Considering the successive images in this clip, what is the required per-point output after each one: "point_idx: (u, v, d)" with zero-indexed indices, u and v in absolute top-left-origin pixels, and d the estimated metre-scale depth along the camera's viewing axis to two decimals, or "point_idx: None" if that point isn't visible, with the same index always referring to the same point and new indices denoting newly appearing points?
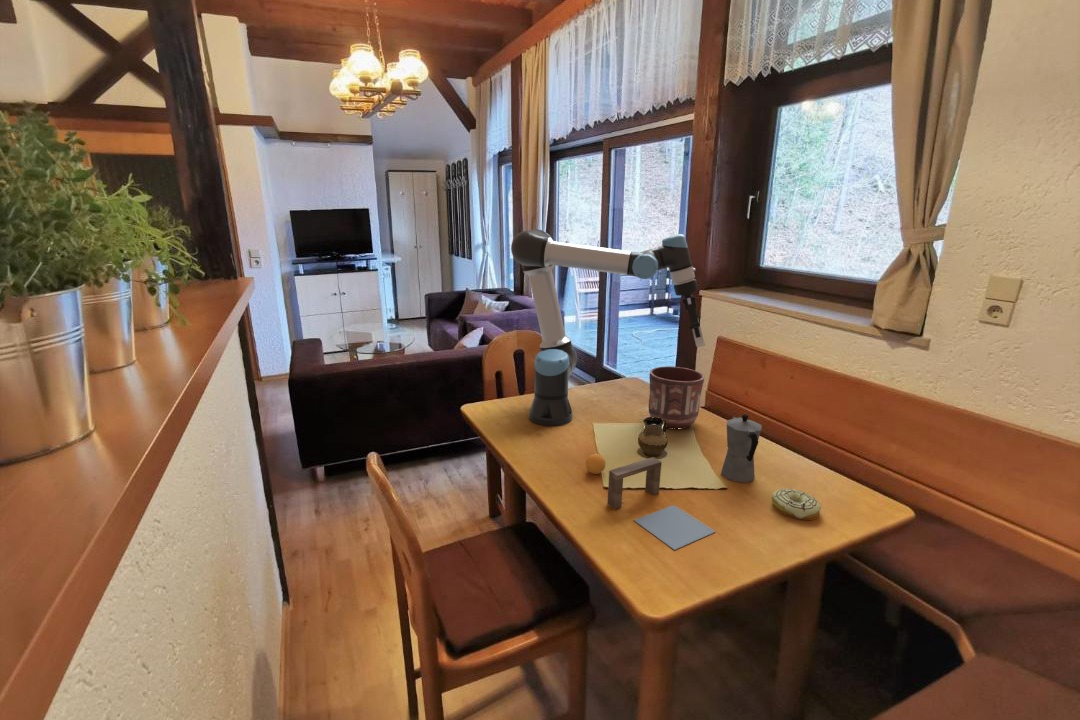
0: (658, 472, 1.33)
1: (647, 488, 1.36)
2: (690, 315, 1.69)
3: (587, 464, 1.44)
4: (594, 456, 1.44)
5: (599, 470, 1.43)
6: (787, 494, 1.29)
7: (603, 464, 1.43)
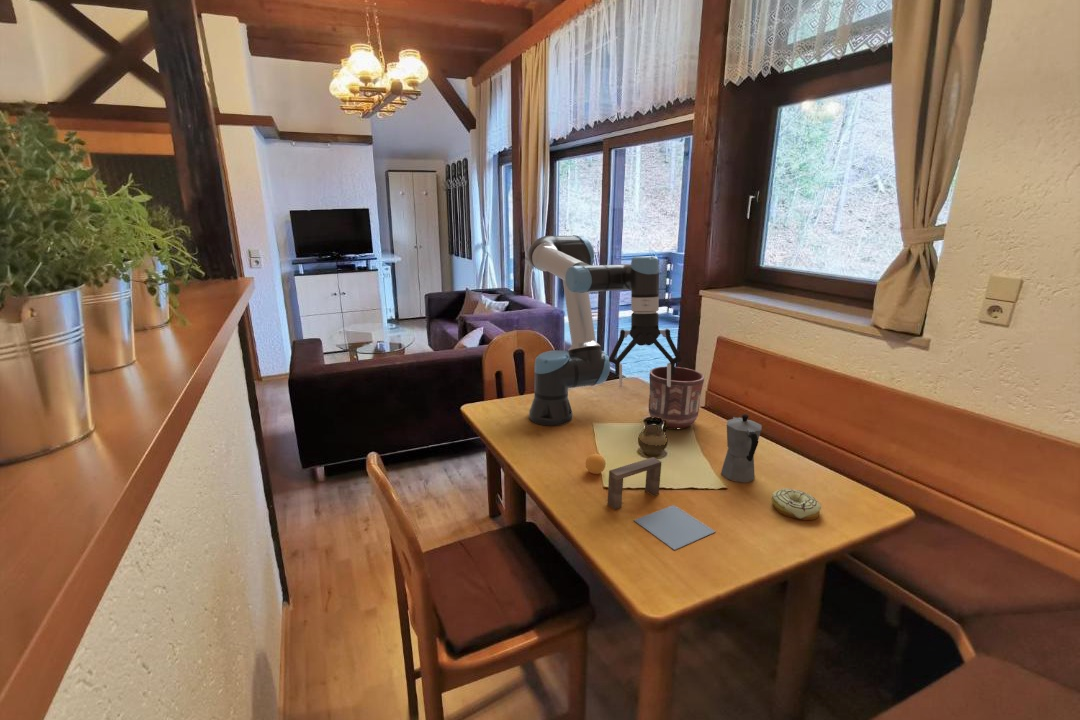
0: (658, 472, 1.33)
1: (647, 488, 1.36)
2: (614, 348, 1.50)
3: (587, 464, 1.44)
4: (594, 456, 1.44)
5: (599, 470, 1.43)
6: (787, 494, 1.29)
7: (603, 464, 1.43)
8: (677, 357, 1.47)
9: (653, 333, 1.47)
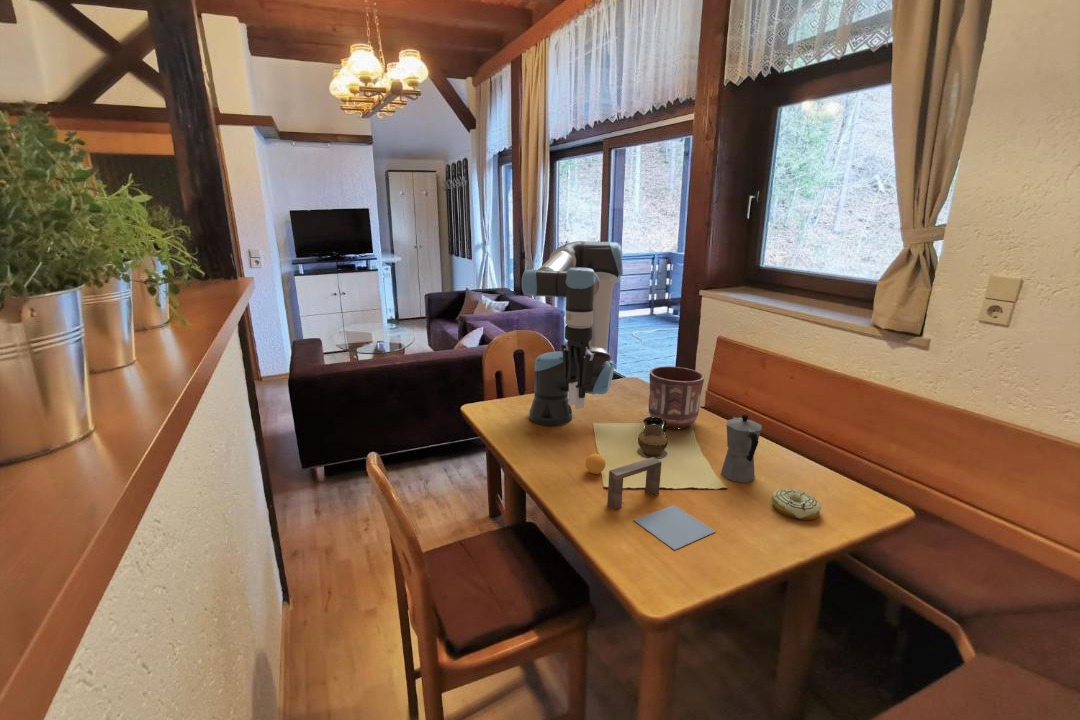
0: (658, 472, 1.33)
1: (647, 488, 1.36)
2: None
3: (587, 464, 1.44)
4: (594, 456, 1.44)
5: (599, 470, 1.43)
6: (787, 494, 1.29)
7: (603, 464, 1.43)
8: (582, 382, 1.43)
9: (579, 348, 1.42)
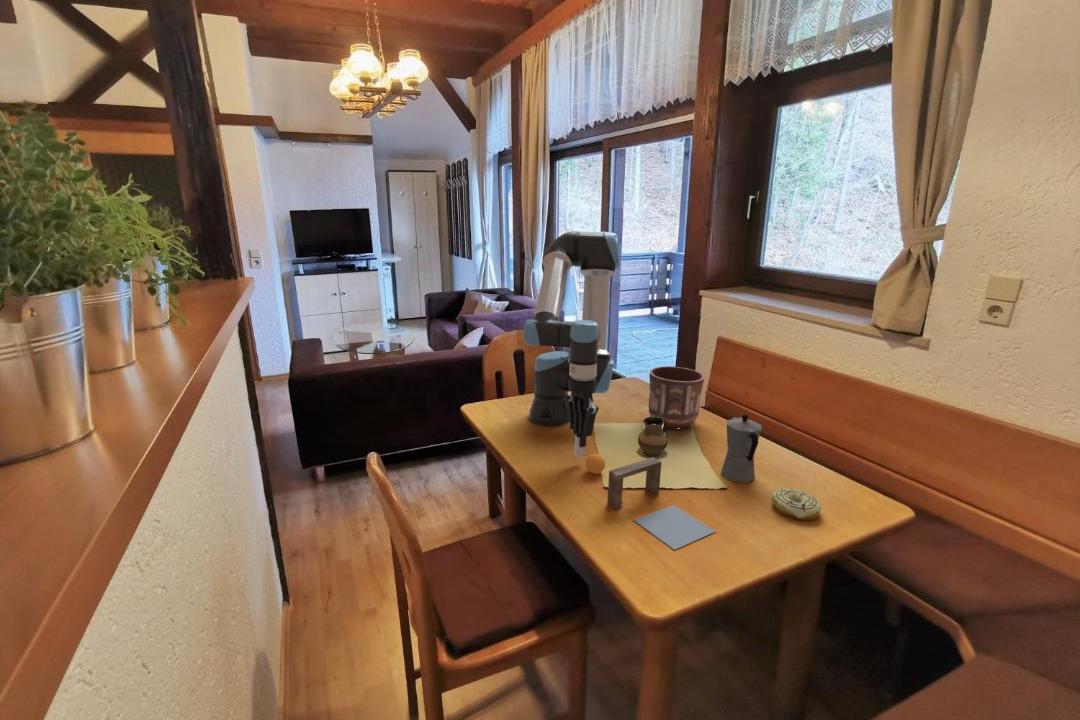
0: (658, 472, 1.33)
1: (647, 488, 1.36)
2: None
3: (587, 464, 1.44)
4: (594, 456, 1.44)
5: (599, 470, 1.43)
6: (787, 494, 1.29)
7: (603, 464, 1.43)
8: (583, 432, 1.45)
9: (583, 400, 1.43)
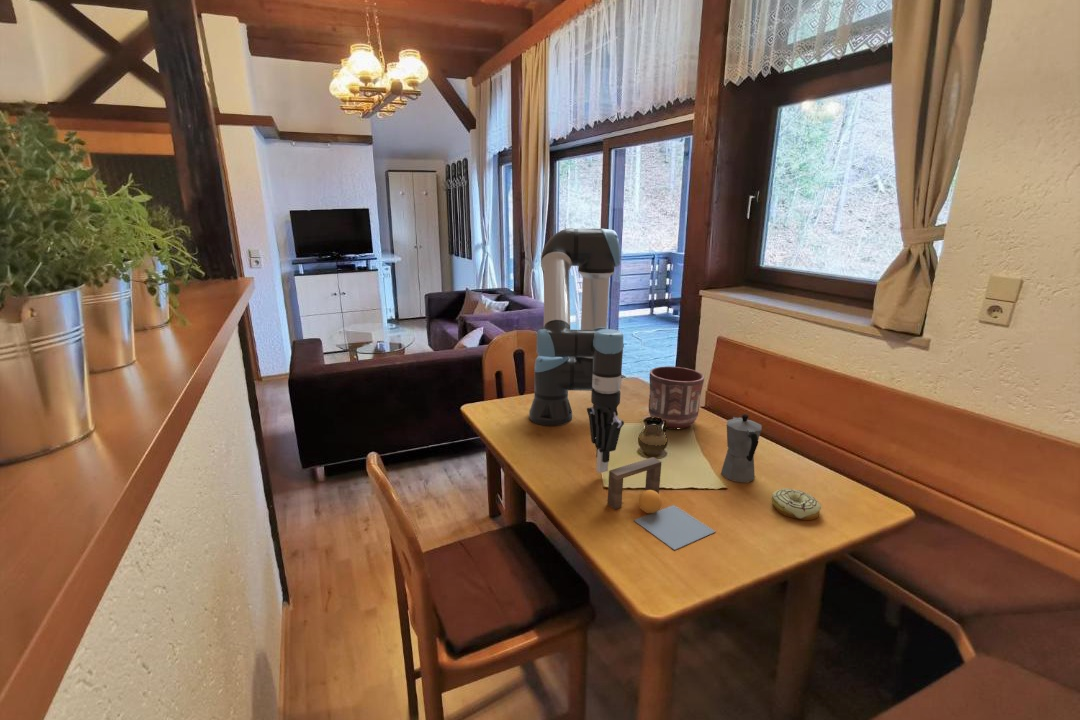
0: (658, 472, 1.33)
1: (647, 488, 1.36)
2: None
3: (642, 505, 1.25)
4: (654, 509, 1.24)
5: None
6: (787, 494, 1.29)
7: None
8: (607, 447, 1.37)
9: (607, 414, 1.35)
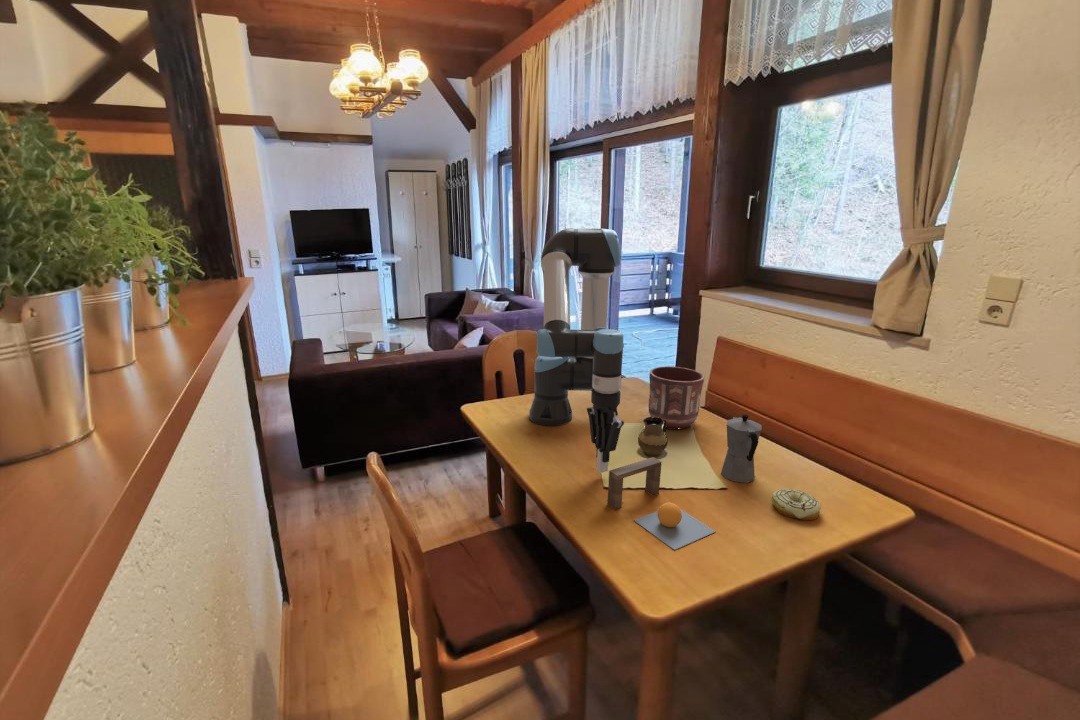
0: (658, 472, 1.33)
1: (647, 488, 1.36)
2: None
3: (659, 518, 1.20)
4: None
5: (666, 503, 1.21)
6: (787, 494, 1.29)
7: None
8: (607, 447, 1.37)
9: (607, 414, 1.35)
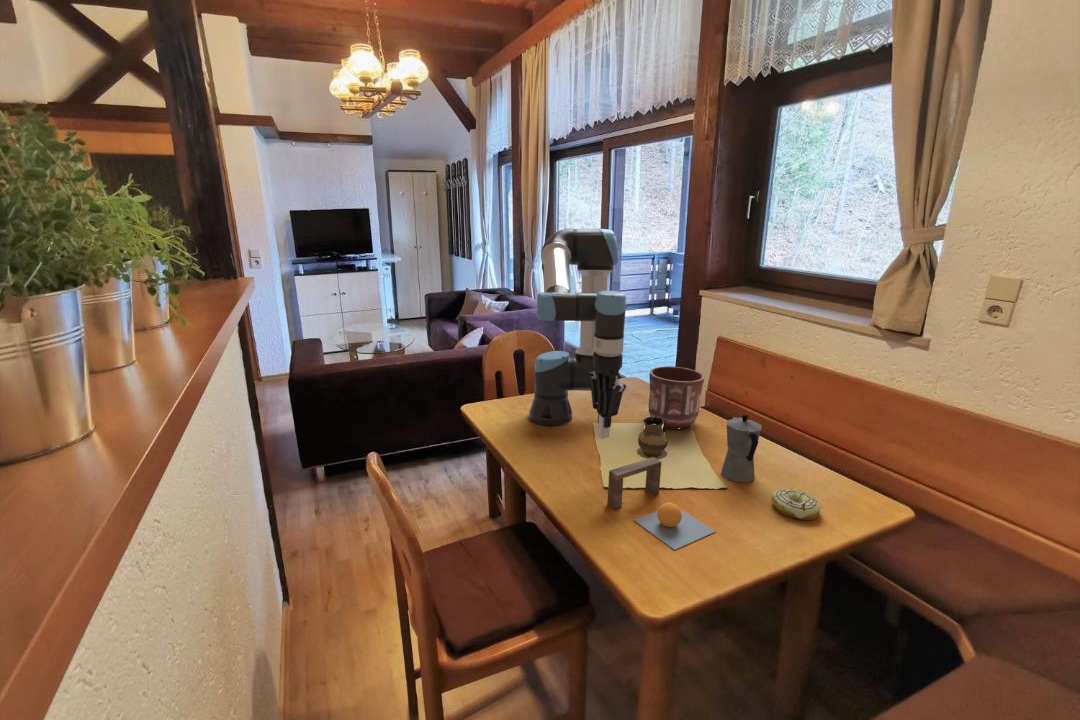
0: (658, 472, 1.33)
1: (647, 488, 1.36)
2: None
3: (659, 518, 1.20)
4: None
5: (666, 503, 1.21)
6: (787, 494, 1.29)
7: None
8: (608, 411, 1.35)
9: (609, 377, 1.33)
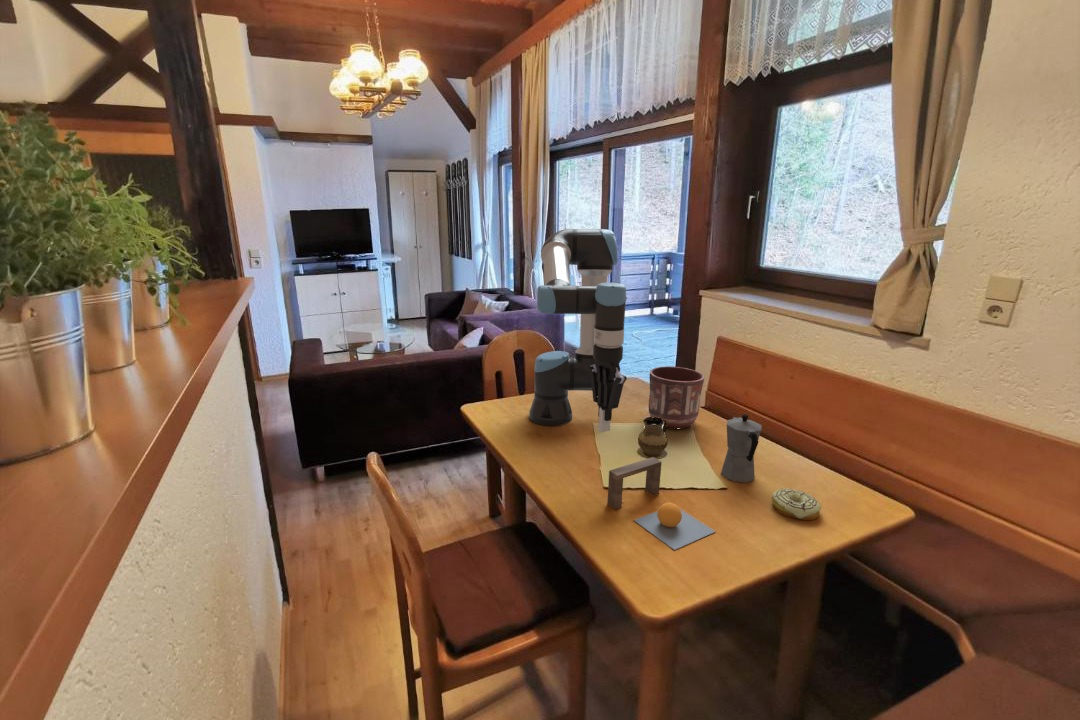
0: (658, 472, 1.33)
1: (647, 488, 1.36)
2: None
3: (659, 518, 1.20)
4: None
5: (666, 503, 1.21)
6: (787, 494, 1.29)
7: None
8: (609, 404, 1.34)
9: (609, 369, 1.32)
